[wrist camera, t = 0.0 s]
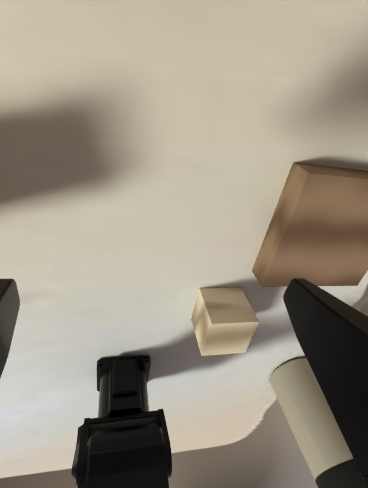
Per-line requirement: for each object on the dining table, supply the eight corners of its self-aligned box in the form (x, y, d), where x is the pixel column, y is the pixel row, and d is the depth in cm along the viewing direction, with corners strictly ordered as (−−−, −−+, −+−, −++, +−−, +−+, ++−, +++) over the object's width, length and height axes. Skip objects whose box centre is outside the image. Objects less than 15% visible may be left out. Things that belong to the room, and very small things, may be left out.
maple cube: (230, 317, 34) (245, 352, 30) (191, 318, 33) (201, 355, 29) (241, 287, 32) (259, 321, 28) (199, 287, 30) (211, 323, 26)
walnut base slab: (342, 271, 33) (357, 285, 31) (252, 270, 30) (261, 286, 28) (401, 175, 27) (424, 185, 25) (293, 162, 24) (309, 173, 22)
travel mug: (273, 361, 42) (354, 524, 28) (320, 352, 43) (422, 503, 29) (265, 388, 47) (331, 540, 32) (308, 379, 48) (390, 522, 33)
